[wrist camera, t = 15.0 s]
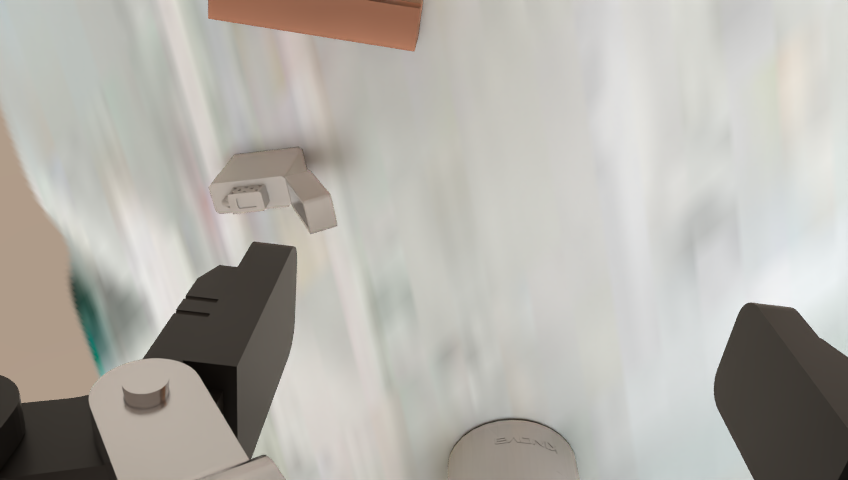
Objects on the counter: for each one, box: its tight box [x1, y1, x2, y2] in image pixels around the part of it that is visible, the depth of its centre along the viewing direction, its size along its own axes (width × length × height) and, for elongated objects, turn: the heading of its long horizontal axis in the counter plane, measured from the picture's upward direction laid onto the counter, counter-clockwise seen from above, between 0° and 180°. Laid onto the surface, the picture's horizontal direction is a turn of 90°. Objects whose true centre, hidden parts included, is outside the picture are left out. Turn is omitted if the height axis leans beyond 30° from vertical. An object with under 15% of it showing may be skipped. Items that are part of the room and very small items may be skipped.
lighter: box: [209, 147, 337, 234], centre depth 36 cm, size 7×2×8 cm, turn 98°
